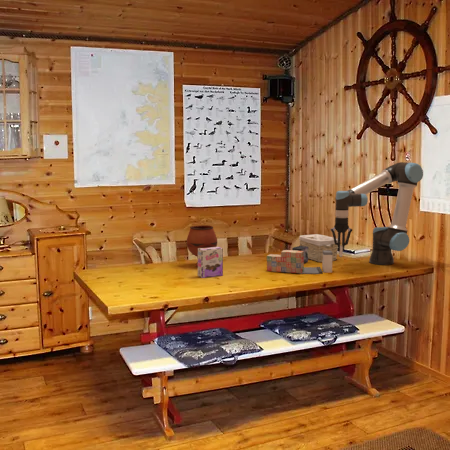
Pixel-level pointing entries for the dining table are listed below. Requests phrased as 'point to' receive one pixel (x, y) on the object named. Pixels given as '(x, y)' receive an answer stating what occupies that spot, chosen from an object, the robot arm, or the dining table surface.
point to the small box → (302, 248)
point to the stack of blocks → (286, 261)
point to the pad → (312, 270)
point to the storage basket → (318, 246)
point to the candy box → (210, 262)
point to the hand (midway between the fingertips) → (340, 256)
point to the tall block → (327, 261)
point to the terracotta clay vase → (201, 239)
